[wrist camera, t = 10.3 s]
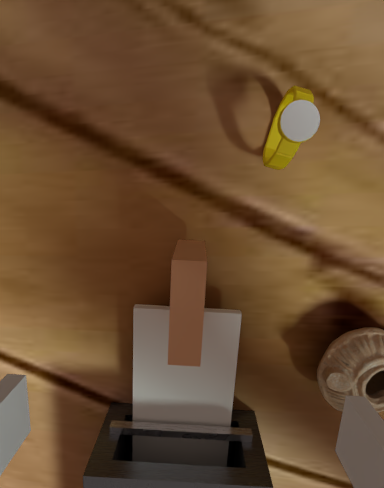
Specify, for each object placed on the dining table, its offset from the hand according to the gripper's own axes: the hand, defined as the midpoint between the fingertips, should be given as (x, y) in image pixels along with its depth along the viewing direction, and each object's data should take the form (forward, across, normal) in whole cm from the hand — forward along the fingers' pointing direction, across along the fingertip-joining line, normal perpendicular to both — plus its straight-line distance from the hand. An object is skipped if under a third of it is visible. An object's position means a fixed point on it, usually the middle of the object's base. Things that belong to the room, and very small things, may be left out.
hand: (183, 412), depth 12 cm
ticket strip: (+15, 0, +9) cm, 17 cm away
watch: (+17, -7, -14) cm, 23 cm away
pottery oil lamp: (+17, -19, +8) cm, 27 cm away
